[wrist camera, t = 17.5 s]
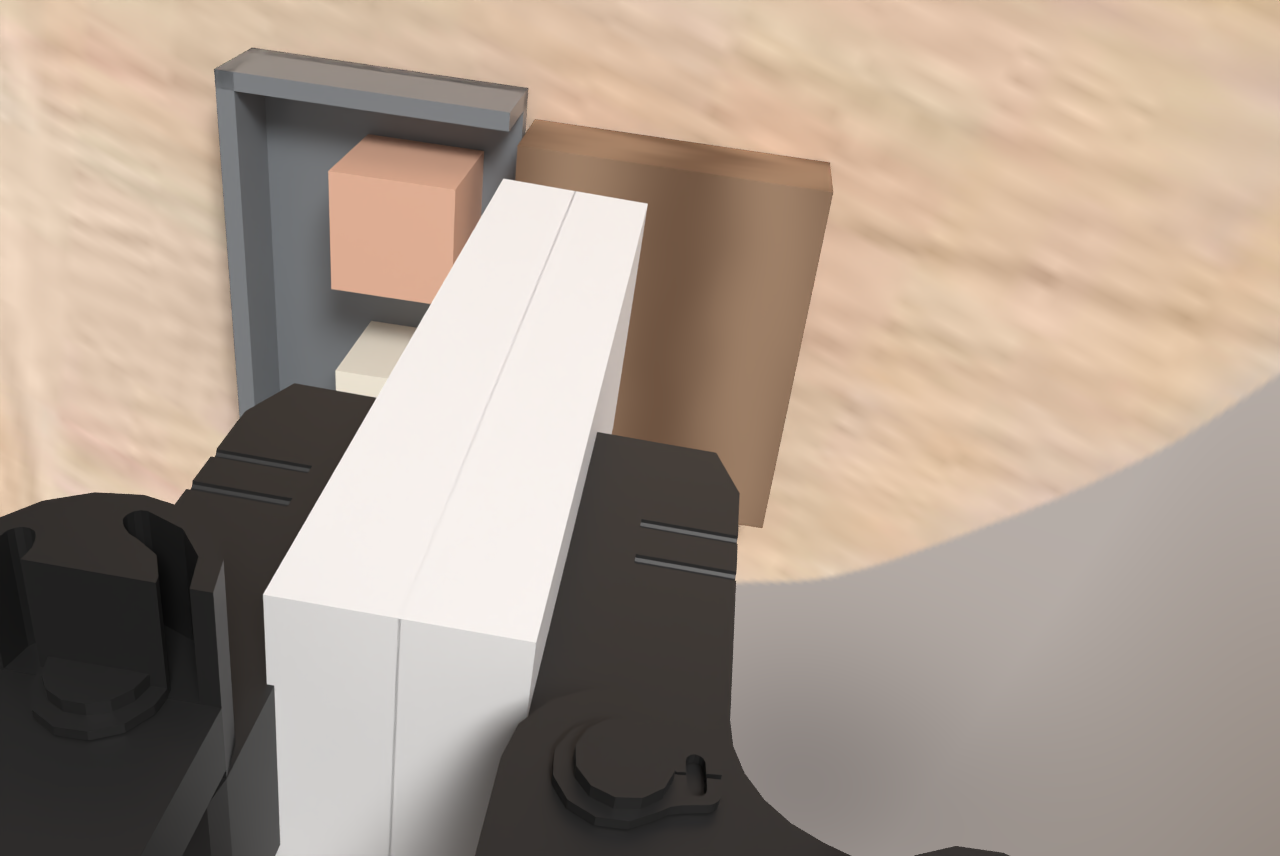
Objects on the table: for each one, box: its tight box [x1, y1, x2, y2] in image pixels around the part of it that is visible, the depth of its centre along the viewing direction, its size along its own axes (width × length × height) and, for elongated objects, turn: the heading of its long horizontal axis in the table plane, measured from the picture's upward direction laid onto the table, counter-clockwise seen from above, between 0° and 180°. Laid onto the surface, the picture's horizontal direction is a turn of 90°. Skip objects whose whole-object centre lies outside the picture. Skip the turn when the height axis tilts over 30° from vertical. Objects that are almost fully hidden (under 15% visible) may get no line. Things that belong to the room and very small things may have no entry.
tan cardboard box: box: [515, 119, 833, 528], centre depth 41 cm, size 10×13×3 cm
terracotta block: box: [328, 134, 484, 304], centre depth 38 cm, size 4×4×4 cm
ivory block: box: [335, 321, 417, 398], centre depth 42 cm, size 4×4×4 cm
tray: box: [214, 48, 528, 417], centre depth 41 cm, size 9×15×3 cm, turn 173°
